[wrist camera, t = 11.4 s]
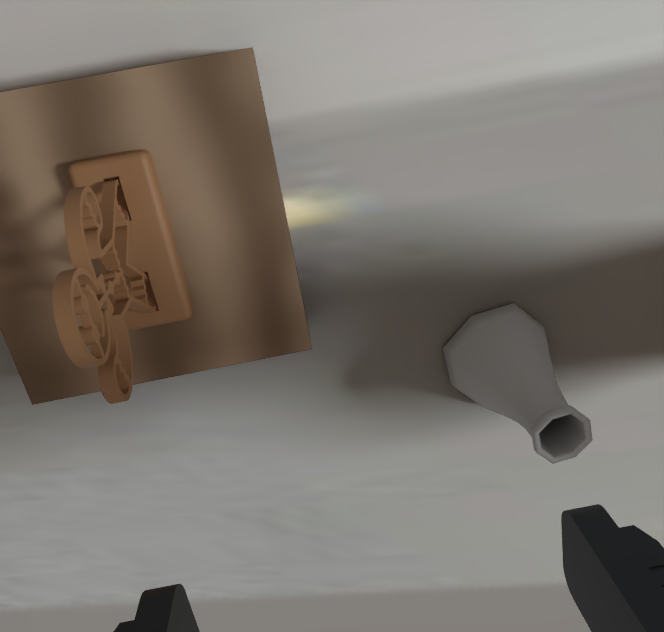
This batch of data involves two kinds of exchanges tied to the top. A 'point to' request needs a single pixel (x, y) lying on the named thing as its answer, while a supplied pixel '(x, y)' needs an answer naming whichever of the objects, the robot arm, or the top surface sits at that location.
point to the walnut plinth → (182, 208)
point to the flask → (516, 379)
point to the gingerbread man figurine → (116, 266)
